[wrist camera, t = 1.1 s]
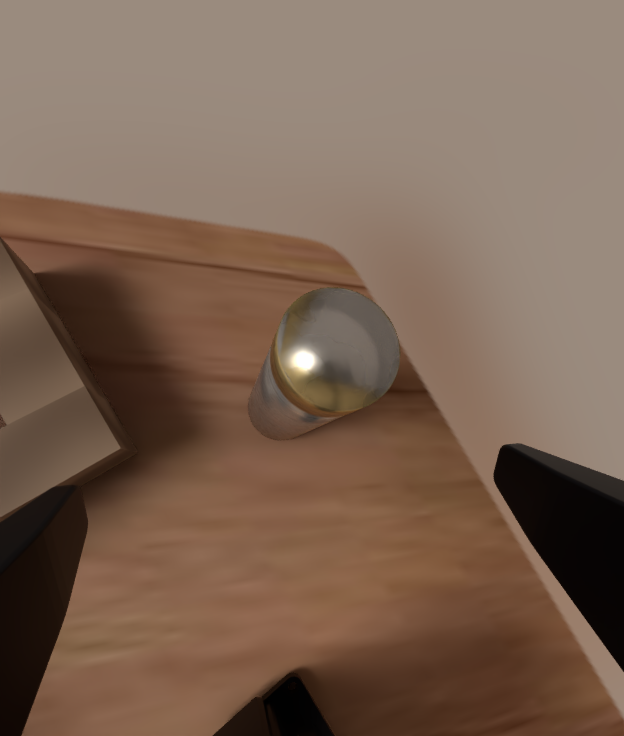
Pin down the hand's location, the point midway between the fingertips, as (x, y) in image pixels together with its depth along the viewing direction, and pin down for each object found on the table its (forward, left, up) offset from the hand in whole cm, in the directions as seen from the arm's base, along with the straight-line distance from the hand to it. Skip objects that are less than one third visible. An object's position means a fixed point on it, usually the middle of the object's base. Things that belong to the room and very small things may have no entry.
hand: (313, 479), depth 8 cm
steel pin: (+2, -3, -15) cm, 15 cm away
